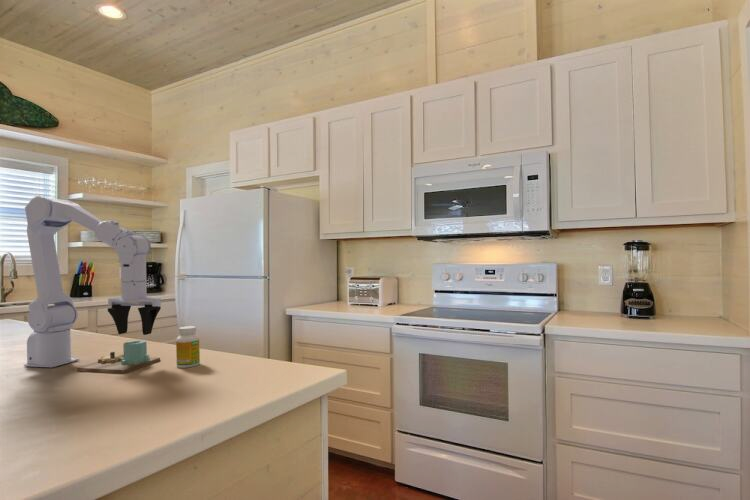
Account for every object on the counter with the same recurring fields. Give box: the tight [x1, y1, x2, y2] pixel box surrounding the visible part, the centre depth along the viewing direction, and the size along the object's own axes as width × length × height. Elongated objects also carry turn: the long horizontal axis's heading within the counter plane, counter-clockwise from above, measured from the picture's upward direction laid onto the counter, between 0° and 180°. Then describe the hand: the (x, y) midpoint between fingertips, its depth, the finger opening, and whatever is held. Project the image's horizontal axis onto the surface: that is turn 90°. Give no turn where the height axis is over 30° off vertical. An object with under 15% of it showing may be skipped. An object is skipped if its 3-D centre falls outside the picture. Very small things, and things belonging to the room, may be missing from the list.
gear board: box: [76, 351, 161, 374], centre depth 109 cm, size 14×12×4 cm
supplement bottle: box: [175, 325, 201, 369], centre depth 108 cm, size 5×5×10 cm
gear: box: [121, 339, 150, 365], centre depth 109 cm, size 7×7×5 cm
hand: (134, 333), depth 110 cm, fingers open, 7 cm apart
